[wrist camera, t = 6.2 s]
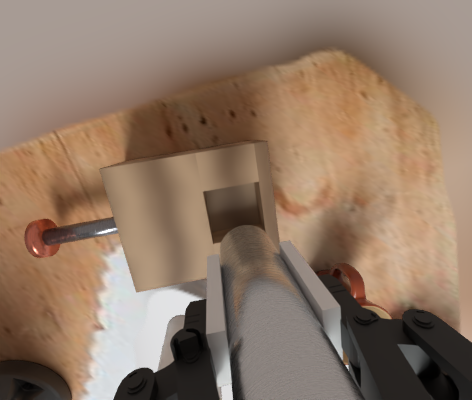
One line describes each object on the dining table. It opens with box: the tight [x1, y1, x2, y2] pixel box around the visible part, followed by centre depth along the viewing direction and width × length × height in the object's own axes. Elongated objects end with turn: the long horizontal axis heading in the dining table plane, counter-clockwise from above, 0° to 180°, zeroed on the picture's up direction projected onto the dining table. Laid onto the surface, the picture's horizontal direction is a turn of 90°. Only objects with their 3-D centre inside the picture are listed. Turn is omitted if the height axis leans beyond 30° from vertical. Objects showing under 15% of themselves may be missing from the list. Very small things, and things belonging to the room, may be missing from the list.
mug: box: [315, 263, 392, 365], centre depth 35 cm, size 12×9×10 cm
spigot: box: [220, 225, 366, 400], centre depth 12 cm, size 4×4×14 cm
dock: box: [99, 140, 280, 292], centre depth 31 cm, size 17×14×8 cm
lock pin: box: [25, 217, 118, 258], centre depth 30 cm, size 14×4×4 cm, turn 99°
